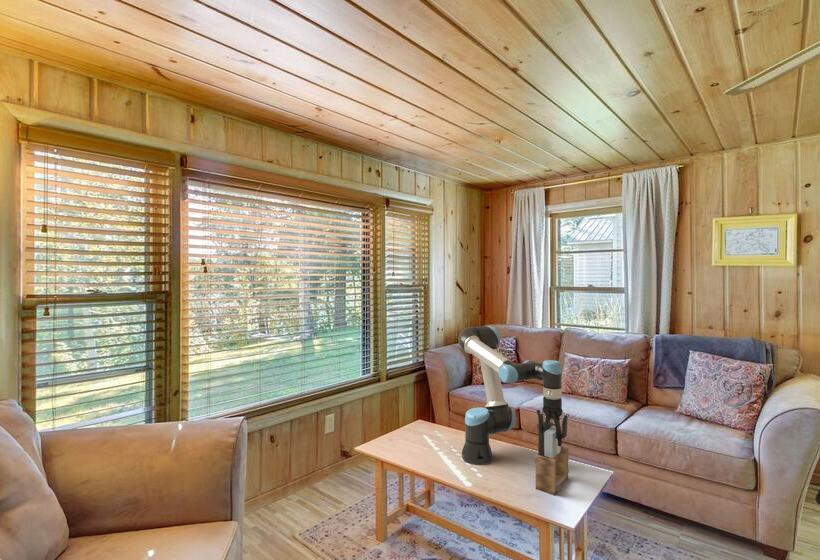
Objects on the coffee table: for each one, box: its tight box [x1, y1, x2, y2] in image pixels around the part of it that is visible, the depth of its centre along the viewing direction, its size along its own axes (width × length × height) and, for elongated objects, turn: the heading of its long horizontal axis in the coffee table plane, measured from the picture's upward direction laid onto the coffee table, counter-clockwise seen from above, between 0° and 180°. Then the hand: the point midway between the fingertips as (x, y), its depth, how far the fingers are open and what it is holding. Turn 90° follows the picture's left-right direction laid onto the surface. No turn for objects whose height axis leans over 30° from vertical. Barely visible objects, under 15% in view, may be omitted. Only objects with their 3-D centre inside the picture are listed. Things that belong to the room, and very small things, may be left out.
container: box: [537, 421, 555, 458], centre depth 192 cm, size 9×9×20 cm
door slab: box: [544, 426, 562, 458], centre depth 175 cm, size 4×10×10 cm, turn 141°
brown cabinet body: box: [535, 445, 569, 496], centre depth 175 cm, size 8×17×14 cm, turn 141°
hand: (552, 451), depth 175 cm, fingers closed on door slab, 3 cm apart
